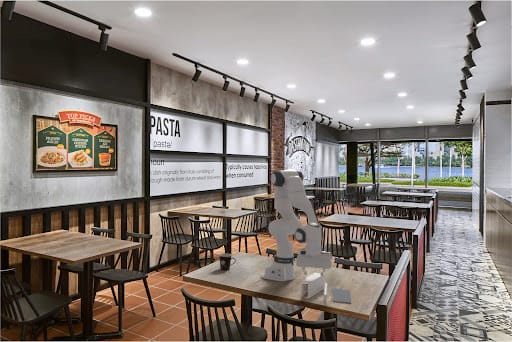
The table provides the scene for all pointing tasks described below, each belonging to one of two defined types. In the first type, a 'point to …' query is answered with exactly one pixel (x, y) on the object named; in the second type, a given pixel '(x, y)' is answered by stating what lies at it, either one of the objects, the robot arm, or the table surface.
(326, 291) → the low wall
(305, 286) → the white boxy piece
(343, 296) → the mat
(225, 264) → the coffee mug
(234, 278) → the table surface
